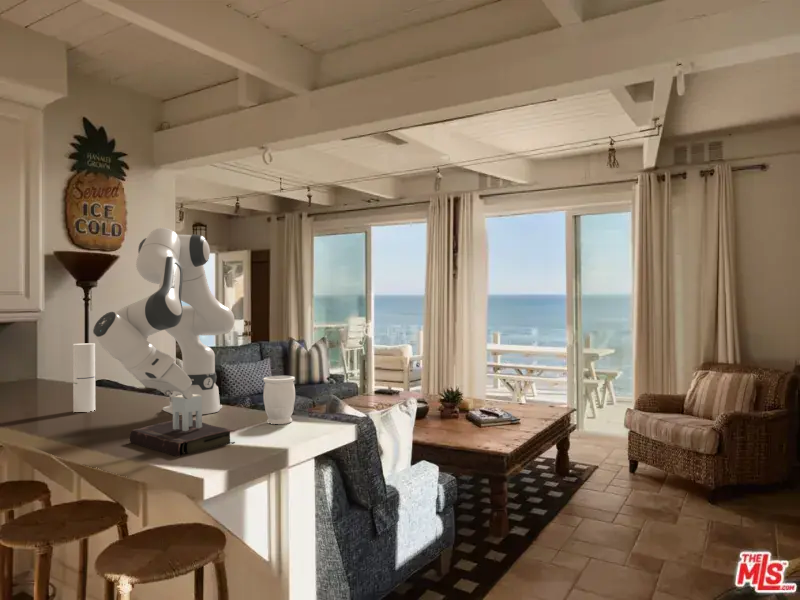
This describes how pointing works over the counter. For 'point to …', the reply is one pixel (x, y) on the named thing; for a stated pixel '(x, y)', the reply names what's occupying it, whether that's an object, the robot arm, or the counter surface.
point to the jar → (279, 398)
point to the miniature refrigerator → (84, 377)
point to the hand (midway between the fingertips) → (180, 395)
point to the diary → (180, 437)
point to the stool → (187, 411)
